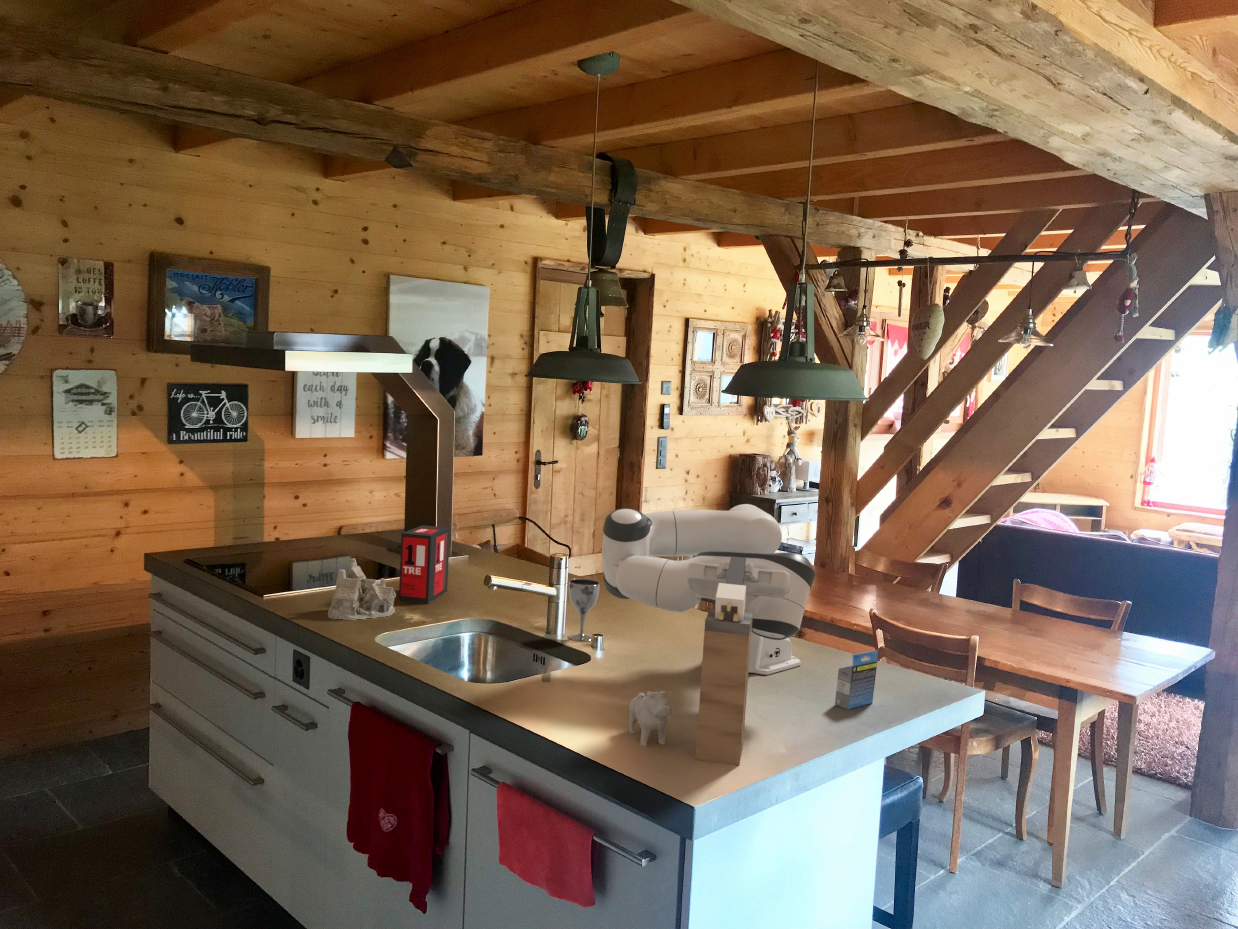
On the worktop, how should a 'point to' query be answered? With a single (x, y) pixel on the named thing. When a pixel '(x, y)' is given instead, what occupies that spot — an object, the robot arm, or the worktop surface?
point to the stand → (723, 689)
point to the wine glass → (583, 602)
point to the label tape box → (857, 681)
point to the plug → (732, 592)
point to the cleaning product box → (424, 564)
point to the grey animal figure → (649, 715)
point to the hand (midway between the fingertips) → (737, 566)
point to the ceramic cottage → (360, 596)
